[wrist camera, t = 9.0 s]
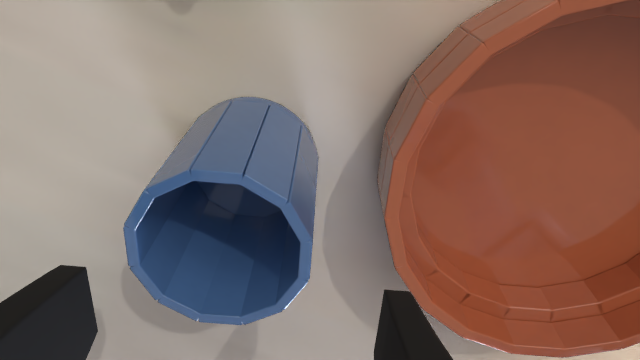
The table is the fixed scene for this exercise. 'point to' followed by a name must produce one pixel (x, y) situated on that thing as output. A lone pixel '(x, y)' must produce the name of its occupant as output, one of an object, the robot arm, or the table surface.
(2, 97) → the table surface
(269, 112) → the blue cup
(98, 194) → the table surface
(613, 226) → the bowl
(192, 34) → the table surface
